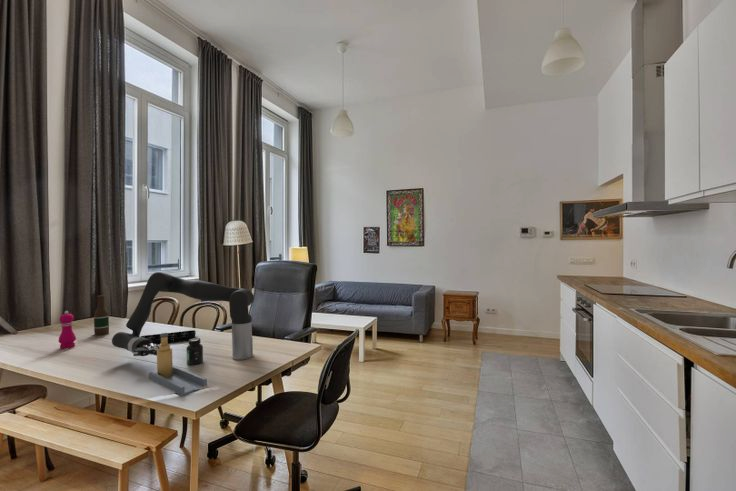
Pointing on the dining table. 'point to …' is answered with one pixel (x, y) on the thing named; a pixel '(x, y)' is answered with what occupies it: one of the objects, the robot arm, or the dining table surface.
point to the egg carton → (172, 337)
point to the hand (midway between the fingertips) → (158, 352)
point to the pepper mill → (67, 331)
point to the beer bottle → (101, 318)
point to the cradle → (180, 381)
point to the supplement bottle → (194, 352)
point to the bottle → (164, 358)
